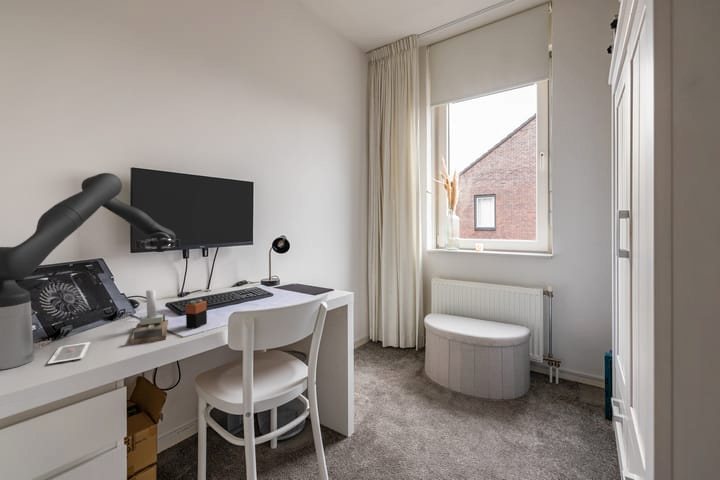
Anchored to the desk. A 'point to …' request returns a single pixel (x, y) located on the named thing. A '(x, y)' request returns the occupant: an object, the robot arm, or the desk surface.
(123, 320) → the desk surface
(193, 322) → the battery
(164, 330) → the rail base
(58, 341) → the desk surface
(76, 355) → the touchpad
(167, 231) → the robot arm
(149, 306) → the keeper
